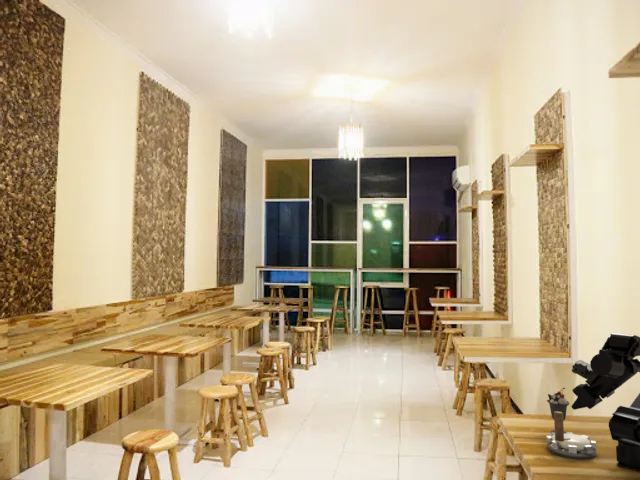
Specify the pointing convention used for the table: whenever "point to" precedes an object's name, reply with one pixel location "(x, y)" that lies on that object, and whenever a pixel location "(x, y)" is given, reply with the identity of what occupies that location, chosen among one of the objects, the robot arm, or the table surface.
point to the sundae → (558, 404)
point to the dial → (567, 435)
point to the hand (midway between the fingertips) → (572, 408)
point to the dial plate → (574, 456)
